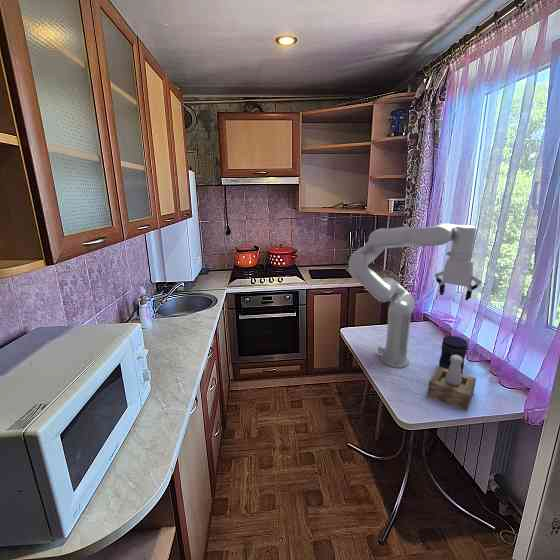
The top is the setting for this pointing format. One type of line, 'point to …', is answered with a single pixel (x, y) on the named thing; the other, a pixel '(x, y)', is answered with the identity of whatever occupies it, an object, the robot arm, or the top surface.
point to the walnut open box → (451, 389)
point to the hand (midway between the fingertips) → (454, 296)
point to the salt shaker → (454, 371)
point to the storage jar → (452, 350)
